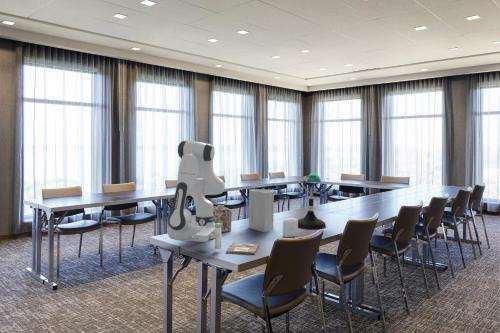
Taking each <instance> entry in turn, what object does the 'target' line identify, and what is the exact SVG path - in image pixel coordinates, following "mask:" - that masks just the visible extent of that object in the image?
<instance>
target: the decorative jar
mask: <svg viewBox="0 0 500 333" xmlns="http://www.w3.org/2000/svg"><path fill="white" fill-rule="evenodd" d="M232 214H233V212H232V211H231V210H230V208H229V207H226V206H225V204H218V205H217V206H216V207H214V206H213V215H214V222H215V223H221V233H227V232H231V231H232V217H233V216H232Z"/></svg>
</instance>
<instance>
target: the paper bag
mask: <svg viewBox="0 0 500 333" xmlns="http://www.w3.org/2000/svg"><path fill="white" fill-rule="evenodd" d="M248 190H249V194H248V195H249V196H248V198H249V199H248V201H249V202H248V203H249V204H248V228H249V229H253V230H254V231H255V230H256V231H260V232H262V233H270V232H271V231H272V230H273V229H274V213H275V212H274V211H275V208H274V207H275V206H274V205H275V203H274V202H275V197H274V196H275V189H256V188H255V189H253V188H252V189H248Z"/></svg>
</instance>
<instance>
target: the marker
mask: <svg viewBox="0 0 500 333" xmlns="http://www.w3.org/2000/svg"><path fill="white" fill-rule="evenodd" d="M215 234H219V237H218V238H214V249H216V250H220V249H222V232H221V223H215Z"/></svg>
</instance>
